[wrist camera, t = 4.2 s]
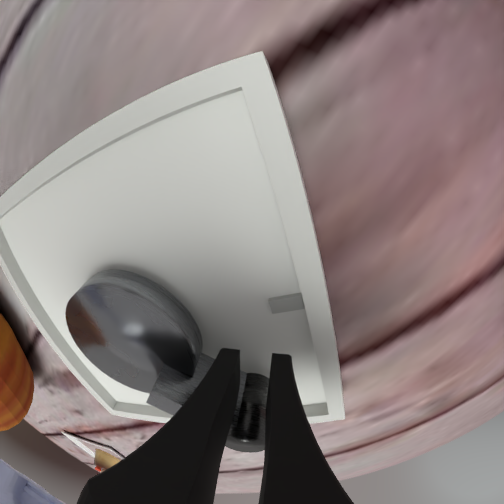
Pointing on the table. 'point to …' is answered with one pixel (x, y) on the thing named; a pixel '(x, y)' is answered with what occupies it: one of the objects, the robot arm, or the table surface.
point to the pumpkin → (13, 379)
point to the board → (183, 230)
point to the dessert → (97, 453)
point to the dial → (156, 348)
